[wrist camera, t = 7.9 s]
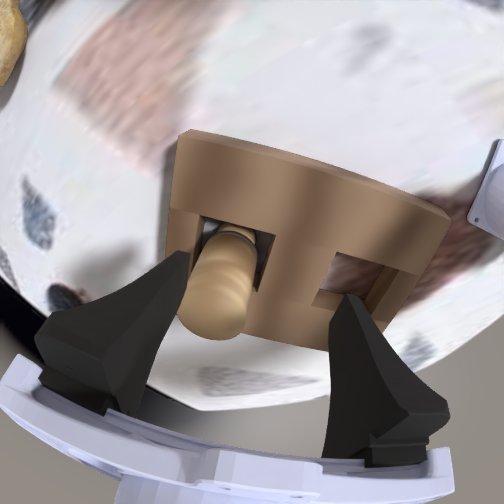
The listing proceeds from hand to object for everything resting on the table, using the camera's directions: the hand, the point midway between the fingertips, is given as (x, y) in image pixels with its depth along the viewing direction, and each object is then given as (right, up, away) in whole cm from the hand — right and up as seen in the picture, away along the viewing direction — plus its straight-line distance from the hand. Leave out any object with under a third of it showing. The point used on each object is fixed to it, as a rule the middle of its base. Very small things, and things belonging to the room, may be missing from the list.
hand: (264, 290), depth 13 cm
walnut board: (+3, +1, +11) cm, 11 cm away
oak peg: (-2, +3, +11) cm, 11 cm away
